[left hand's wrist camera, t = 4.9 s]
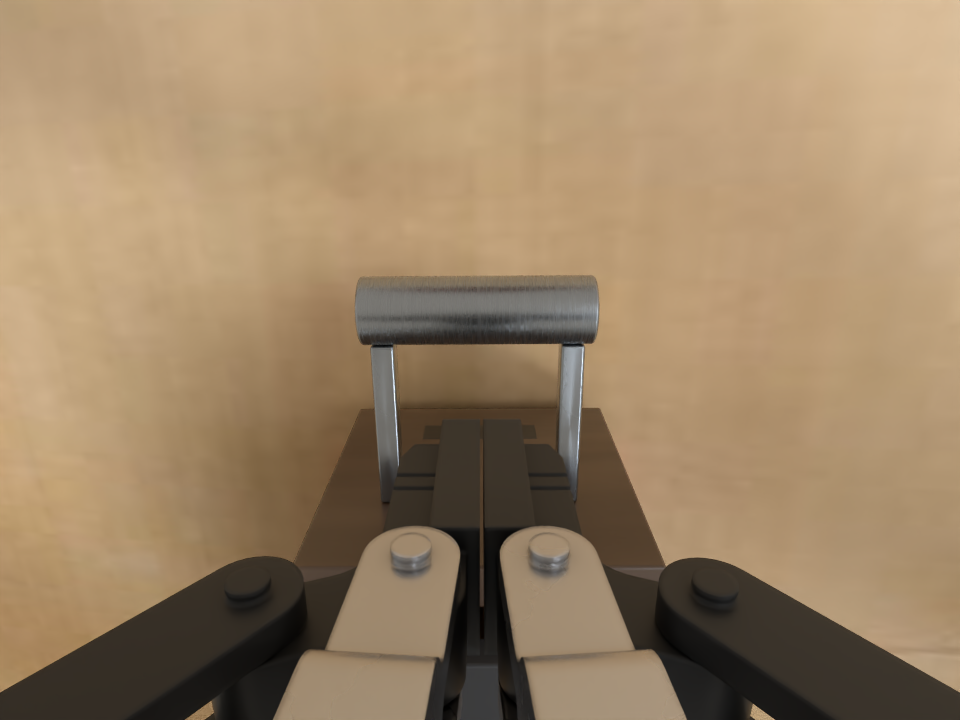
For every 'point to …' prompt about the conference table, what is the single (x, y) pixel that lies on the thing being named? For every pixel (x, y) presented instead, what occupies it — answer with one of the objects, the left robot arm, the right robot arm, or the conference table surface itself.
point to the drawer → (477, 413)
